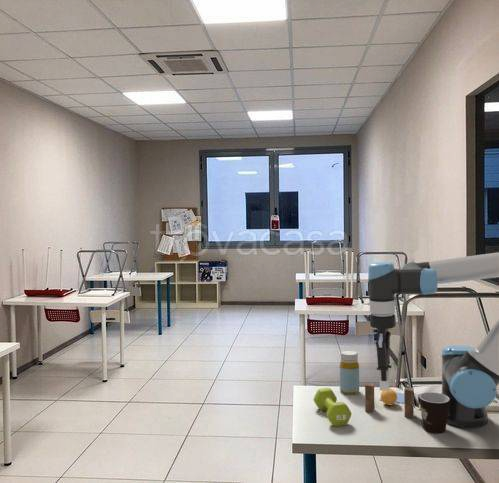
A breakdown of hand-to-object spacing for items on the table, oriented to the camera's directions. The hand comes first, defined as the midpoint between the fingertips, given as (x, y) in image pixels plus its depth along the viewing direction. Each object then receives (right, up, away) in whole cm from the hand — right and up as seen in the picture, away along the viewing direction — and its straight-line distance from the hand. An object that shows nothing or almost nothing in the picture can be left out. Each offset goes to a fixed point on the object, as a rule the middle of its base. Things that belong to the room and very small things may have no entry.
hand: (384, 389), depth 149 cm
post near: (+11, -12, +10) cm, 19 cm away
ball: (+7, -8, +20) cm, 22 cm away
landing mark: (+11, -11, +26) cm, 30 cm away
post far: (-1, -12, +15) cm, 19 cm away
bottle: (-4, -11, +32) cm, 34 cm away
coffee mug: (+16, -12, +2) cm, 20 cm away
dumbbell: (-14, -13, +12) cm, 22 cm away
